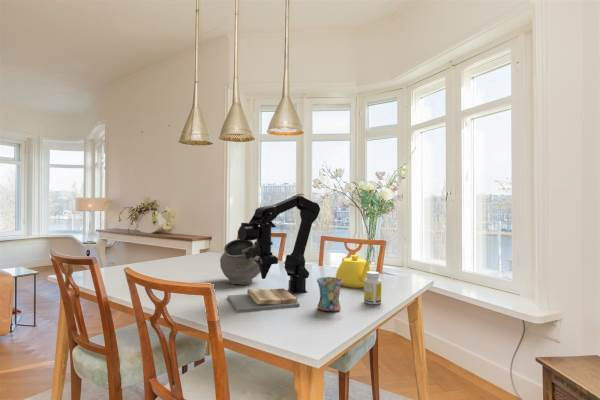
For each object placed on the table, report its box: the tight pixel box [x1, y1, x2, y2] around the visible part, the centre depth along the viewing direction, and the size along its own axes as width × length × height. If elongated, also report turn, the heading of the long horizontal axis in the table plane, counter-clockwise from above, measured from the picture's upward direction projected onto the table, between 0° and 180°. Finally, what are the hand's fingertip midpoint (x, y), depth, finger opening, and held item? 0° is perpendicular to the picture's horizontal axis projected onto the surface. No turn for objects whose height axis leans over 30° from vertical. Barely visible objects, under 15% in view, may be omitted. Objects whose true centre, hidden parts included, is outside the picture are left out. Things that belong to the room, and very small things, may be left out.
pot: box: [219, 236, 261, 286], centre depth 164 cm, size 21×21×25 cm
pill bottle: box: [363, 270, 382, 305], centre depth 134 cm, size 6×6×12 cm
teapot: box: [335, 254, 373, 289], centre depth 163 cm, size 25×18×14 cm
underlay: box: [227, 293, 300, 313], centre depth 132 cm, size 23×19×1 cm
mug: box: [316, 276, 343, 312], centre depth 123 cm, size 12×9×11 cm
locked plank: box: [269, 288, 298, 304], centre depth 134 cm, size 6×16×2 cm, turn 21°
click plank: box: [246, 288, 282, 304], centre depth 132 cm, size 9×16×2 cm, turn 21°
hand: (263, 278), depth 136 cm, fingers closed
